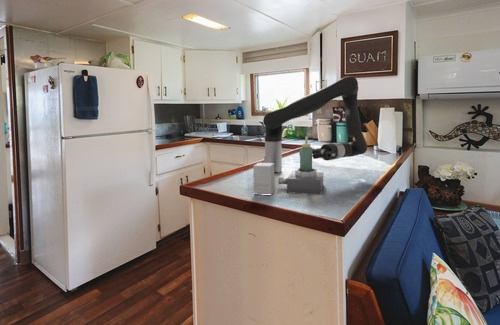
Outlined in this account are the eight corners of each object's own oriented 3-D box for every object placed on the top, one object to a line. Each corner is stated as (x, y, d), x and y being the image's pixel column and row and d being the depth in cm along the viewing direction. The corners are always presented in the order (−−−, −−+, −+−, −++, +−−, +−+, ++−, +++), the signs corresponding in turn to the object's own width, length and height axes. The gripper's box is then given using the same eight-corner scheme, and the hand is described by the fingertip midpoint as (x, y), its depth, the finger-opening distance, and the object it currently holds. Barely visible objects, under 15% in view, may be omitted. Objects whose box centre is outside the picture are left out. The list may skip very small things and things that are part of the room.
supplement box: (275, 191, 134) (274, 162, 132) (270, 196, 127) (270, 166, 125) (258, 190, 136) (258, 162, 134) (253, 195, 130) (252, 165, 127)
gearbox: (275, 191, 133) (275, 172, 132) (282, 183, 148) (282, 165, 147) (320, 194, 128) (320, 174, 126) (323, 185, 143) (323, 166, 141)
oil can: (299, 175, 135) (299, 137, 132) (300, 173, 140) (300, 136, 137) (311, 176, 133) (311, 137, 130) (312, 173, 138) (312, 136, 135)
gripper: (321, 142, 149) (295, 145, 140) (345, 144, 137) (318, 148, 128) (321, 157, 150) (295, 161, 142) (344, 161, 138) (318, 166, 130)
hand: (306, 155), depth 135 cm, fingers open, 8 cm apart
